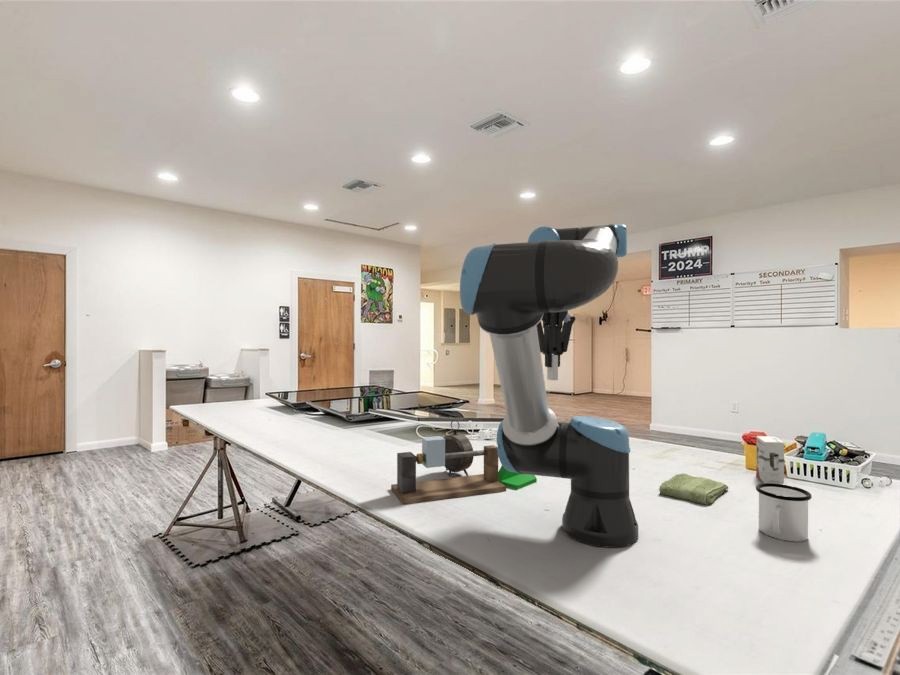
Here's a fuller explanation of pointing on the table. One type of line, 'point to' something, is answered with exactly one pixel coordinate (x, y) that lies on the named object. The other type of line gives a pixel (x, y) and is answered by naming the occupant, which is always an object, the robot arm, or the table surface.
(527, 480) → the bracket
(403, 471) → the wooden slider rail stand
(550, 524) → the table surface
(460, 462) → the alarm clock
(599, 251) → the robot arm
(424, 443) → the light blue block
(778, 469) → the ink box
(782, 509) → the mug
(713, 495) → the washcloth
